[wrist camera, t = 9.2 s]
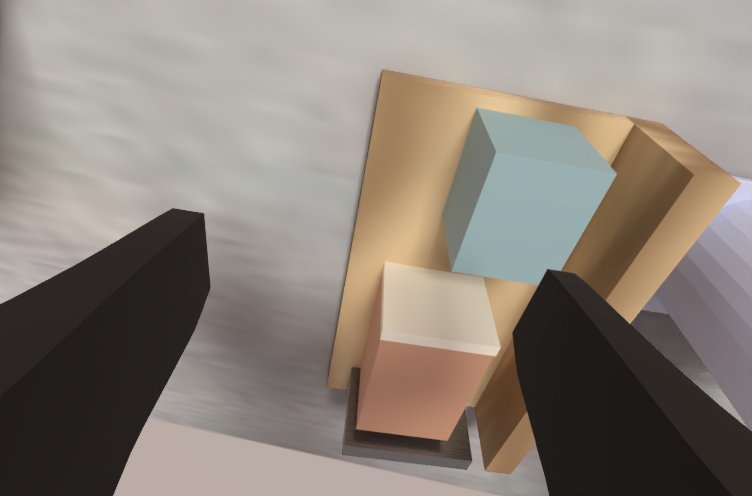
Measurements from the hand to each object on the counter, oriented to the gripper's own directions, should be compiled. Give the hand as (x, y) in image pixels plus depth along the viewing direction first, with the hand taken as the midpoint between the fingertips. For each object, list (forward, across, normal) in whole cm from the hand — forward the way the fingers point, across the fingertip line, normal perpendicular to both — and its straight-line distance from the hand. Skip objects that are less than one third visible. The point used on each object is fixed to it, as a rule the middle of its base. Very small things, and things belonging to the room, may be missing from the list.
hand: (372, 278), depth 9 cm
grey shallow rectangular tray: (+10, -5, +17) cm, 20 cm away
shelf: (+10, -6, +8) cm, 15 cm away
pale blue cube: (+10, -6, +2) cm, 12 cm away
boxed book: (+10, -4, +11) cm, 15 cm away
